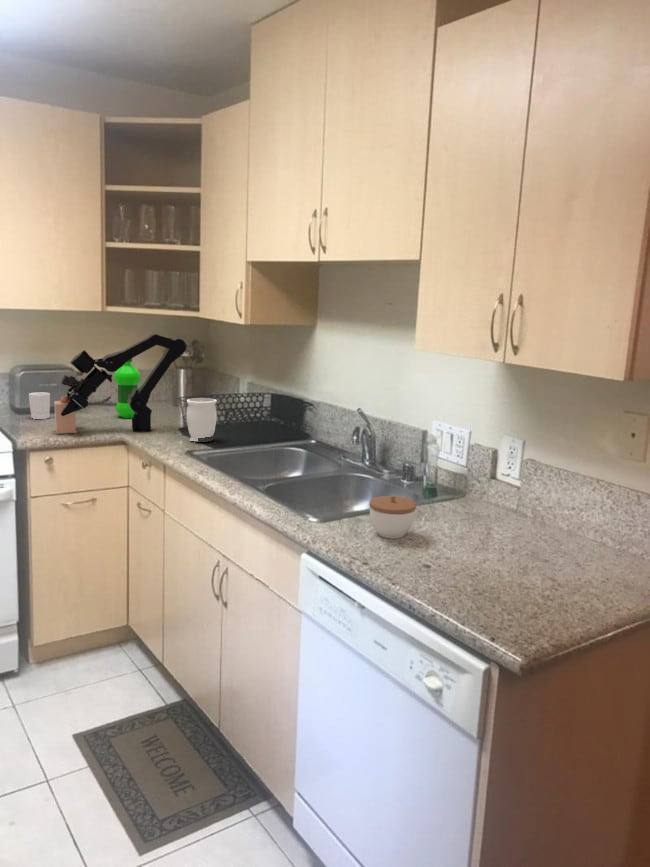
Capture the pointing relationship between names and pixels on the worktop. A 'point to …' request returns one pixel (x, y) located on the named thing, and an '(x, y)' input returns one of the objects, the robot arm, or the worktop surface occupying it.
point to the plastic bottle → (126, 387)
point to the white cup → (39, 405)
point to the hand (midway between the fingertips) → (61, 413)
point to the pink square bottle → (64, 417)
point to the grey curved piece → (64, 433)
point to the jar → (201, 417)
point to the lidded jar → (392, 515)
